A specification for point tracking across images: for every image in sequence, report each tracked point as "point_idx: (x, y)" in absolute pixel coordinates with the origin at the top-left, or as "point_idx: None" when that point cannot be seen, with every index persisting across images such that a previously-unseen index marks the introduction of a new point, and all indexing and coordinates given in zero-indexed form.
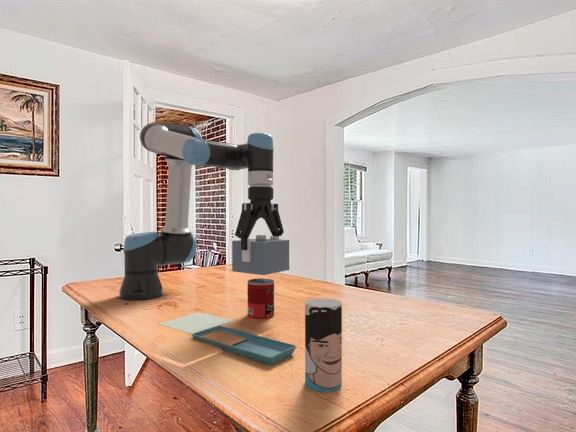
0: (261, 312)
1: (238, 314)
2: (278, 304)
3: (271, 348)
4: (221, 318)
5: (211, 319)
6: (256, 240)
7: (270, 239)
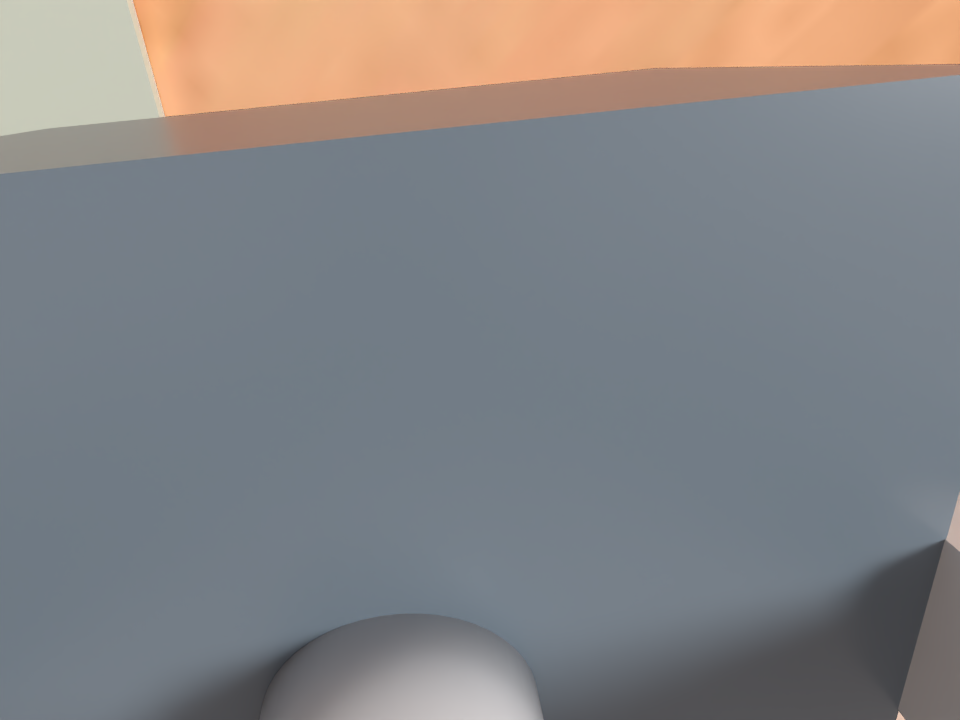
0: None
1: (333, 37)
2: (759, 56)
3: None
4: (123, 78)
5: (39, 37)
6: (259, 706)
7: (762, 674)
